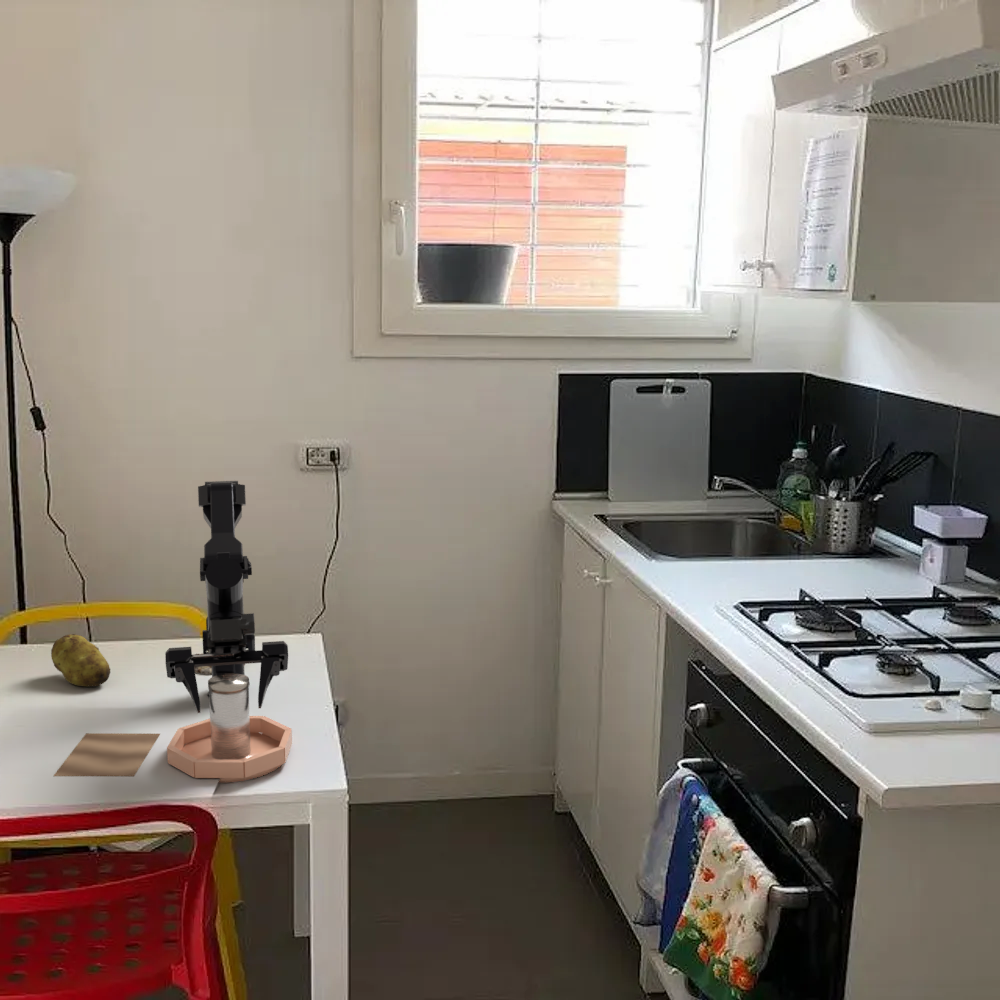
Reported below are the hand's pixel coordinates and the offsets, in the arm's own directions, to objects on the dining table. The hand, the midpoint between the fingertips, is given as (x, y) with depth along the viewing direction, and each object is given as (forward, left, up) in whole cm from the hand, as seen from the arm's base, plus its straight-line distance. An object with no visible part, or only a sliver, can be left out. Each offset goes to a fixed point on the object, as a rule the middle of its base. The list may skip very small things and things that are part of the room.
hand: (229, 709), depth 188 cm
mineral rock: (-43, -11, -9) cm, 45 cm away
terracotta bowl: (-1, 0, -9) cm, 9 cm away
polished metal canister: (-1, 0, -8) cm, 8 cm away
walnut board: (-1, -19, -9) cm, 21 cm away
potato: (-35, -34, -9) cm, 50 cm away
